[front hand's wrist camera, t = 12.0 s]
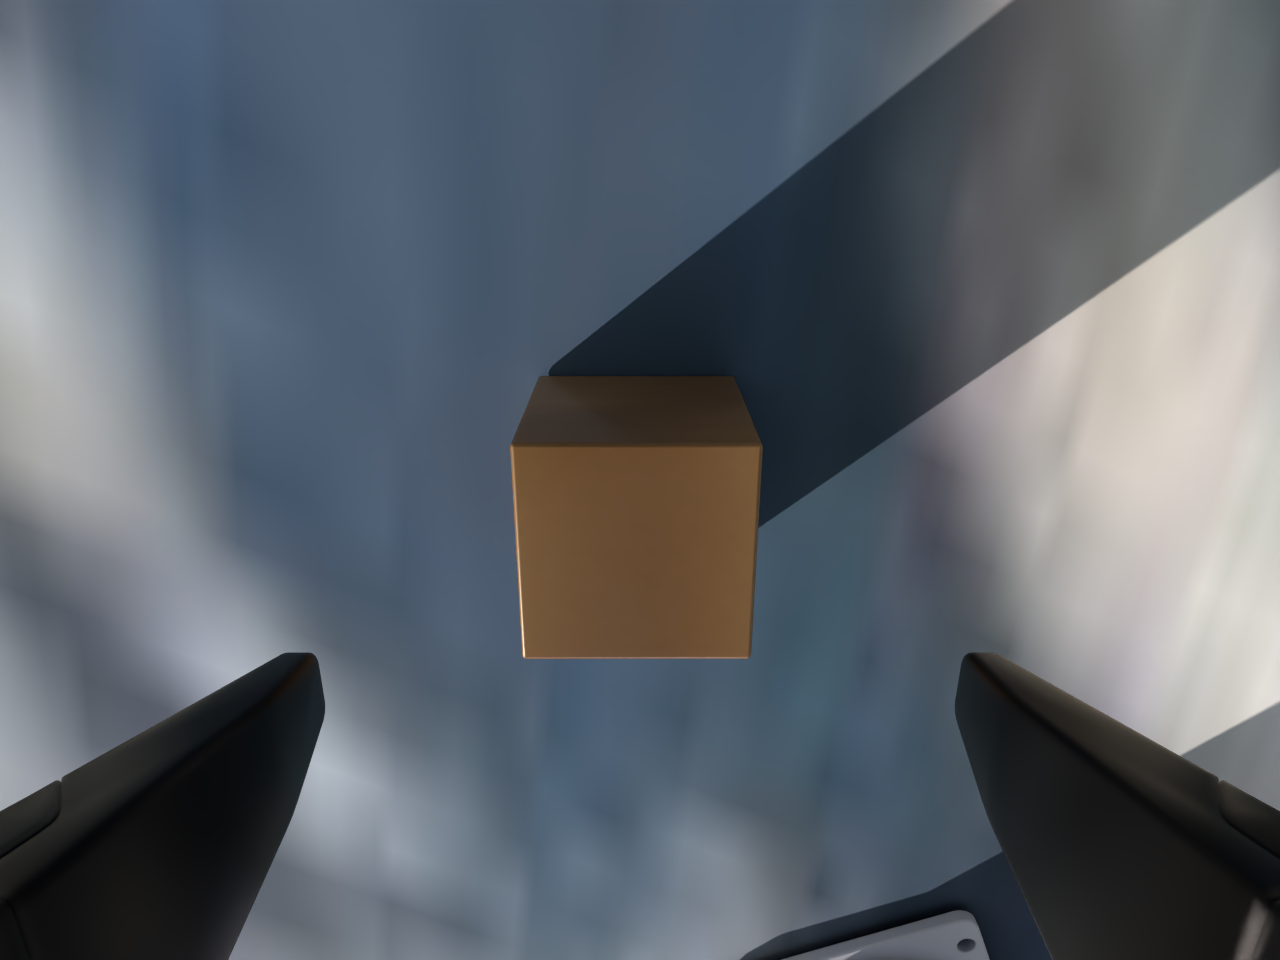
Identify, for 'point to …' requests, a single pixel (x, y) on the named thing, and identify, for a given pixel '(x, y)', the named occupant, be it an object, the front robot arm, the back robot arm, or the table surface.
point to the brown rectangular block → (636, 518)
